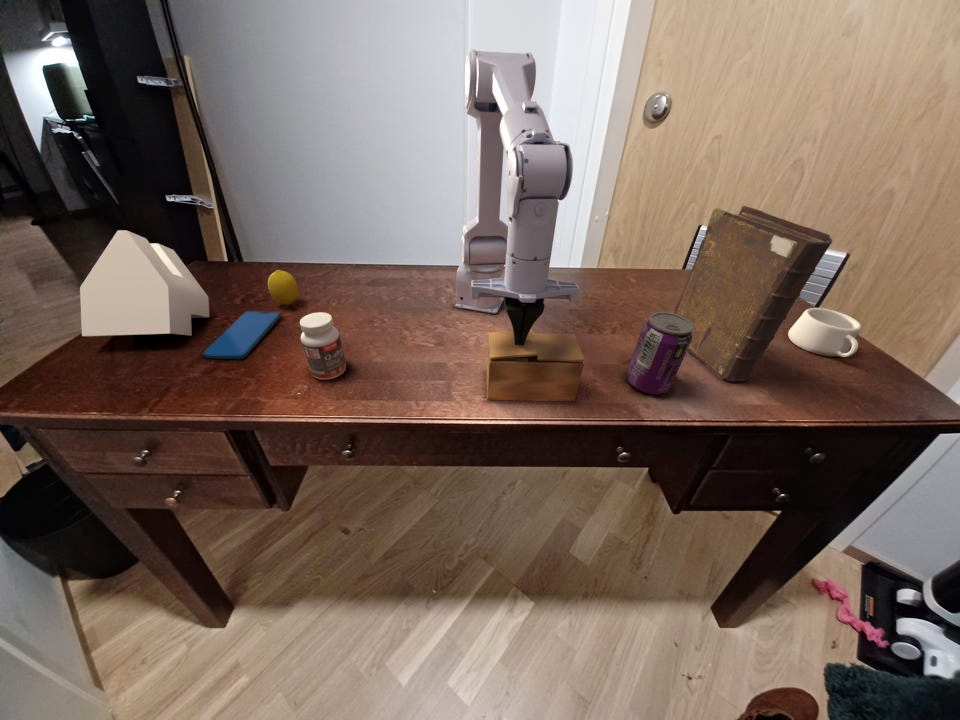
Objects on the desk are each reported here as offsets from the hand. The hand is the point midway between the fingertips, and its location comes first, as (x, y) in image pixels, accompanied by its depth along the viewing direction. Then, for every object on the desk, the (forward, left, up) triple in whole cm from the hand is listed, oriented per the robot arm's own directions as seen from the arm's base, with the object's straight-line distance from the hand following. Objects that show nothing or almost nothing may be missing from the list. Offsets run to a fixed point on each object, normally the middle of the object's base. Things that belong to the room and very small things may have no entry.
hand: (518, 341), depth 55 cm
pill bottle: (-31, -6, -9) cm, 33 cm away
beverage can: (+21, +8, -9) cm, 25 cm away
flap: (-1, 0, -1) cm, 1 cm away
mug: (+55, +31, -9) cm, 64 cm away
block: (0, 0, -8) cm, 9 cm away
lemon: (-53, +11, -9) cm, 55 cm away
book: (+32, +20, -9) cm, 39 cm away
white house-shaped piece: (-70, -3, -9) cm, 70 cm away
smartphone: (-52, -2, -9) cm, 52 cm away
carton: (+2, +1, -9) cm, 9 cm away
